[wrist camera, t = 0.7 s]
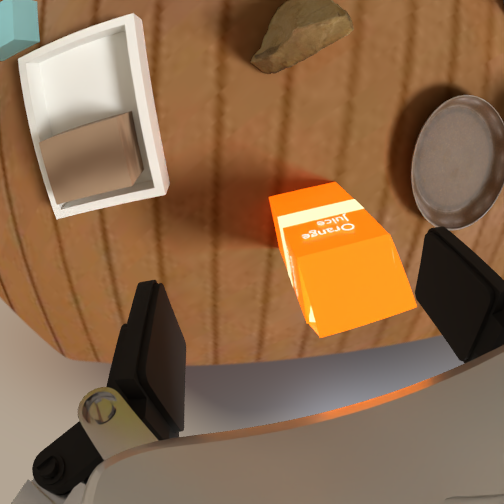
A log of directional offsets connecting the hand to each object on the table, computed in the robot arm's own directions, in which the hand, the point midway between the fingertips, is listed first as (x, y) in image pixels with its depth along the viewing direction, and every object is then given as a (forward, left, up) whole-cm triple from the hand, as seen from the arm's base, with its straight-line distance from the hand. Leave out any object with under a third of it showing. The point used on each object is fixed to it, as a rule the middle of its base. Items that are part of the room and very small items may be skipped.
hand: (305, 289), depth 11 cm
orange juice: (+11, +7, -28) cm, 31 cm away
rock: (-12, +6, -28) cm, 31 cm away
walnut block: (-2, -16, -27) cm, 31 cm away
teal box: (-21, -25, -28) cm, 43 cm away
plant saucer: (+5, +31, -28) cm, 43 cm away
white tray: (-6, -16, -28) cm, 33 cm away
